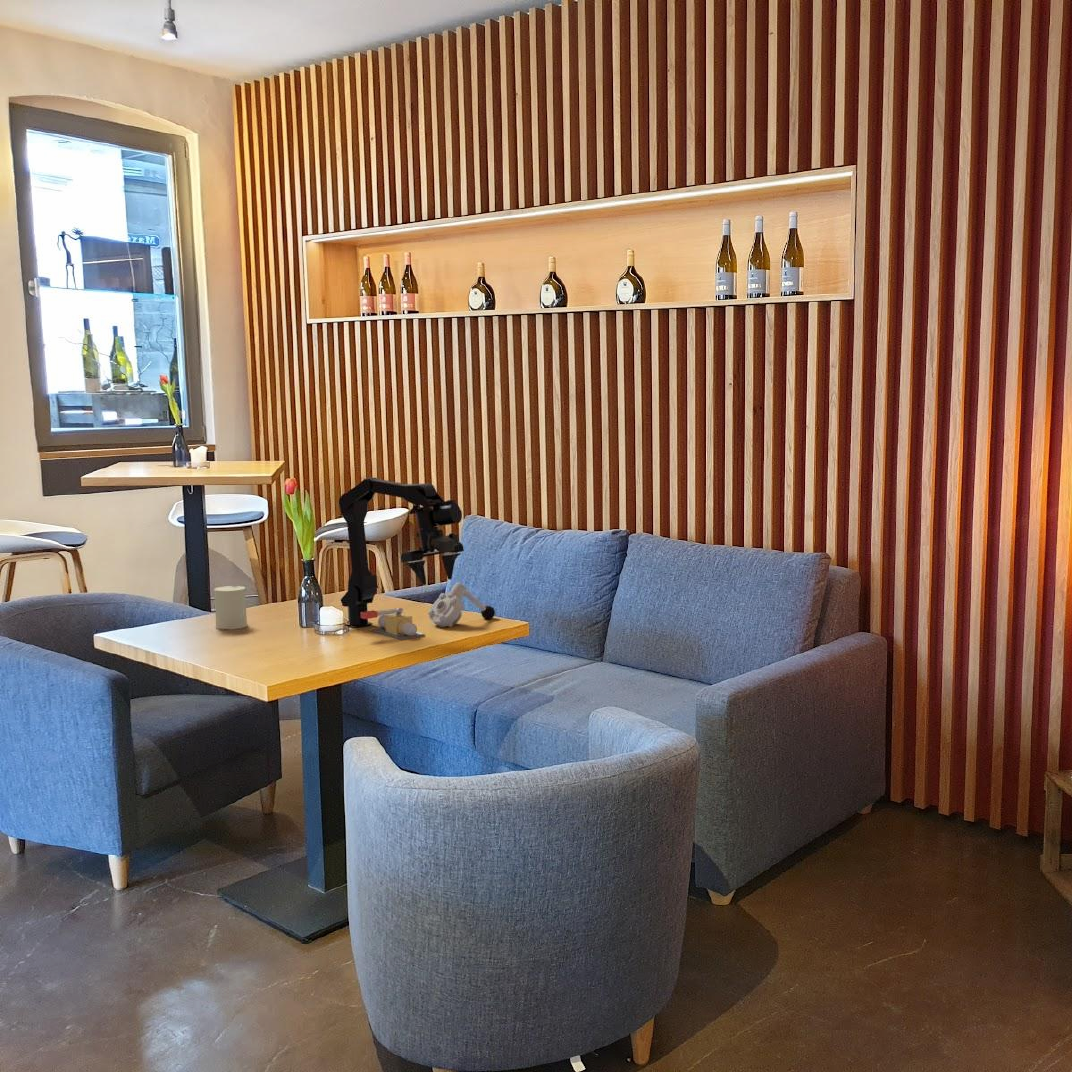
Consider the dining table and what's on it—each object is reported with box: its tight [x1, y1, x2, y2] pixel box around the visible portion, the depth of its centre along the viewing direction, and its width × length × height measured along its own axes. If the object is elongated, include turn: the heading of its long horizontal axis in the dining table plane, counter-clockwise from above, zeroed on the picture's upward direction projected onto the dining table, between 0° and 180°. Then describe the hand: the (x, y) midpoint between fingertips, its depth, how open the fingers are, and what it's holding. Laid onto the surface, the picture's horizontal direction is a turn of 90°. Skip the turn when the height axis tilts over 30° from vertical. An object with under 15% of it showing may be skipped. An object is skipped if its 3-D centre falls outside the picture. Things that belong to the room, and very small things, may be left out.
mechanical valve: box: [427, 582, 496, 628], centre depth 338 cm, size 10×18×15 cm
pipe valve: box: [370, 612, 426, 641], centre depth 323 cm, size 17×8×6 cm, turn 37°
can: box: [213, 585, 248, 630], centre depth 336 cm, size 9×9×12 cm
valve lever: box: [361, 607, 404, 620], centre depth 319 cm, size 13×2×2 cm, turn 127°
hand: (437, 582), depth 320 cm, fingers open, 9 cm apart
